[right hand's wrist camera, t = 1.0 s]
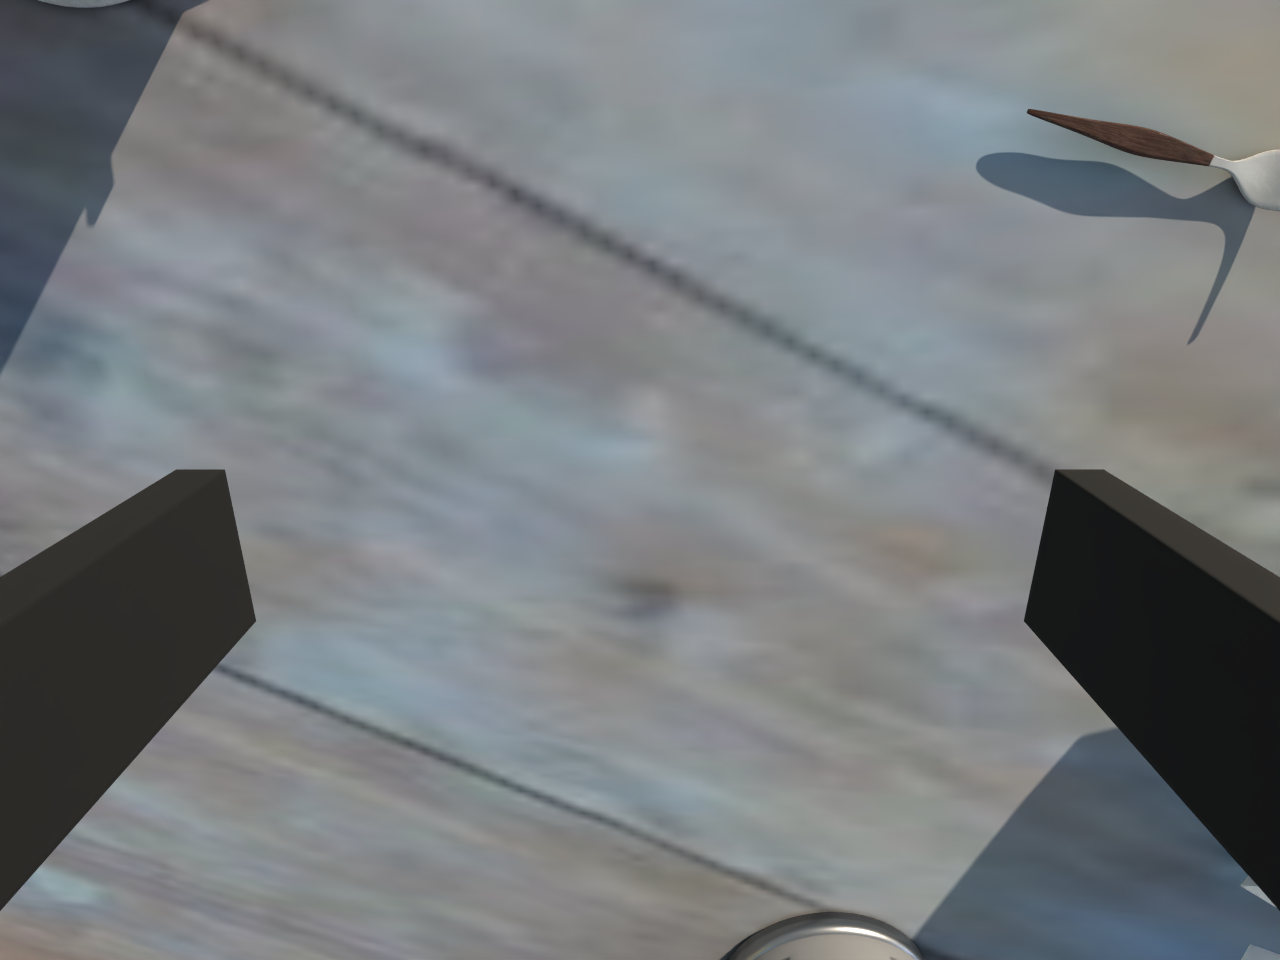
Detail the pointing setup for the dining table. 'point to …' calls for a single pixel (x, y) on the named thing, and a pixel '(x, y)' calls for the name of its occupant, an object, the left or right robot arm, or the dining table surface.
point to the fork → (1182, 154)
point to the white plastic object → (1254, 956)
